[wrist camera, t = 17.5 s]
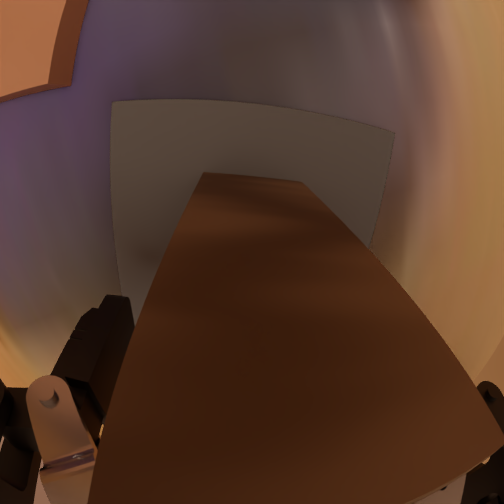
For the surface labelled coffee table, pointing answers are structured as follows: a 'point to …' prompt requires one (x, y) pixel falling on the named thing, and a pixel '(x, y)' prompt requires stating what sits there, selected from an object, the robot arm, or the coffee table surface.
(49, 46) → the tile
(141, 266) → the rest mat
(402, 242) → the coffee table surface
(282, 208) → the tall wooden block
